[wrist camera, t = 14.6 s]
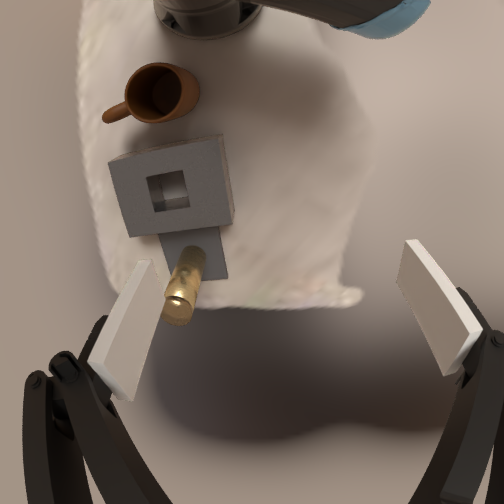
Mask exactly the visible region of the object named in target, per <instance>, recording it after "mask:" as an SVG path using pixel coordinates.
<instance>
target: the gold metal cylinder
mask: <svg viewBox="0 0 504 504" xmlns="http://www.w3.org/2000/svg"><path fill="white" fill-rule="evenodd" d="M205 262H206V254H205V252H204V251H203V249H201V248H200V247H198V246H194V245H190V246H187V247H185V248H184V249H183V250H182V252H181V254H180V256H179V259H178V261H177V264H176V266H175V269H174V271H173V273H172V276H171V278H170V281H169V283H168V286H167V289H166V291H165V294H164V296H165V299H166V300H165V303H164V306H163V309H162V312H161V314H160V316H161V317H162V319H163V320H164V321H166V322H167V323H169V324H171V325H175V326H182V325H186V324H188V323H189V322H190V321H191V318H192V314H193V310H194V306H195V302H196V298H197V294H198V290H199V286H200V282H201V278H202V274H203V270H204V266H205Z"/></svg>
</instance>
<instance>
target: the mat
mask: <svg viewBox="0 0 504 504" xmlns="http://www.w3.org/2000/svg"><path fill="white" fill-rule="evenodd" d="M158 235H159V239H160V242H161V245H162V249H163V252H164V255H165V258H166V261H167V264H168V268H169V271H170V274H171V276H172V273H173V271H174V269H175V266H176V264H177V261H178V259H179V256H180V254H181V252H182V250H183V249H184V248H185V247H187V246H190V245H194V246H198V247H200V248H201V249H203V251H204V252H205V254H206V262H205V266H204V270H203V274H202V278H201V281H206V280H217V279H228V273H227V268H226V263H225V258H224V253H223V248H222V243H221V238H220V233H219V228H218V226H213V227H205V228H197V229H189V230H181V231H174V232H166V233H159V234H158Z"/></svg>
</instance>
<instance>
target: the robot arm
mask: <svg viewBox="0 0 504 504" xmlns="http://www.w3.org/2000/svg"><path fill="white" fill-rule="evenodd" d="M153 1H154V9H155V12H156V14H157V16H158V18H159V19H160V21H161V22H162V23H163V24H164V25H165V26H166V27H167V28H169V29H170V30H171V31H173V32H174V33H176V34H178V35H180V36H183V37H186V38H190V39H197V40H210V39H217V38H221V37H225V36H228V35H231V34H233V33H235V32H237V31H239V30H241V29H242V28H244V27H245V26H247V25H248V24H249V23H250V22H251V21H252V20H253V19H254V18H255V17H256V16H257V14H258V13H259V11H260V9H261V7H262V6H267V7H271V8H275V9H280V10H284V11H288V12H291V13H295V14H299V15H302V16H306V17H309V18H312V19H315V20H319V21H322V22H324V23H328V24H329V25H330V26H331V27H333V28H335V29H338V30H344V31H349V32H352V33H355V34H357V35H360V36H363V37H365V38H369V39H386V38H390V37H393V36H396V35H398V34H400V33H401V32H403V31H405V30H406V29H407V28H409V27H410V26H411V25H413V24H414V23H415V22H416V21H417V20H418V19H419V18H420V17H421V16H422V15H423V14H424V12H425V11H426V10H427V8H428V7H429V5H430V3H431V2H430V0H153ZM396 283H397V284H398V286H399V288H400V290H401V292H402V293H403V295H404V297H405V299H406V301H407V303H408V304H409V306H410V308H411V310H412V312H413V314H414V316H415V317H416V320H417V321H418V323H419V325H420V327H421V329H422V331H423V333H424V335H425V337H426V339H427V341H428V343H429V345H430V348H431V350H432V352H433V354H434V356H435V358H436V361H437V363H438V365H439V367H440V370H441V371H442V374H443V376H446V375H449V374H452V373H455V372H457V370H458V369H459V367H460V366H461V365H462V364H463V366H464V368H465V370H464V371H463V373H462V374H461V375H460V377H459V378H458V379H457V381H456V383H455V384H458V382H459V381H460V383H459V387H458V390H457V393H456V397H455V400H454V403H453V406H452V409H451V412H450V415H449V418H448V421H447V423H446V426H445V429H444V431H443V434H442V436H441V439H440V441H439V444H438V446H437V448H436V451H435V453H434V455H433V457H432V460H431V462H430V464H429V466H428V468H427V470H426V472H425V474H424V476H423V478H422V480H421V482H420V484H419V485H418V487H417V489H416V491H415V493H414V495H413V496H412V498H411V500H410V502H409V503H408V504H473V500H474V498H475V495H476V493H477V491H478V488H479V486H480V483H481V481H482V478H483V475H484V472H485V470H486V467H487V464H488V461H489V458H490V455H491V451H492V448H493V445H494V450H493V459H492V466H491V474H490V480H489V486H488V491H487V495H486V500H485V504H504V334H503V333H502V332H500V331H498V330H492V329H491V327H490V326H489V325H488V323H487V321H486V320H485V318H484V317H483V315H482V314H481V312H480V311H479V309H477V306H476V305H475V304H474V303H473V301H472V299H471V298H470V297H469V295H468V294H467V293H466V292H465V291H464V290H462V289H461V288H460V287H458V288H455V287H454V286H453V284H452V283H451V281H450V280H449V279H448V278H447V276H446V275H445V273H444V272H443V271H442V270H441V268H439V266H438V264H437V263H436V262H435V261H434V259H433V258H432V257H431V256H430V255H429V253H428V252H427V251H426V250H425V248H424V247H423V246H422V245H421V244H420V242H419V241H418V240H417V239H416V240H405V244H404V249H403V254H402V259H401V263H400V268H399V272H398V276H397V280H396ZM165 300H166V299H165V296H164V293H163V291H162V288H161V285H160V282H159V279H158V276H157V273H156V271H155V268H154V265H153V262H152V259H148V260H139V261H138V262H137V264H136V266H135V268H134V270H133V271H132V273H131V275H130V277H129V278H128V280H127V282H126V284H125V286H124V288H123V289H122V291H121V293H120V295H119V297H118V299H117V301H116V303H115V305H114V306H113V309H112V311H111V312H110V314H109V315H103V316H102V317H101V318H100V319H99V320H98V321H97V322H96V323H95V325H94V327H93V329H92V331H91V332H92V333H90V335H89V337H88V340H87V341H86V343H85V345H84V347H83V349H82V352H81V353H80V356H79V358H78V360H77V359H76V358H75V356H74V355H73V354H72V353H71V352H69V351H62V352H59V353H57V354H56V355H55V356H54V357H53V358H52V359H51V361H50V363H49V371H50V372H51V373H52V375H53V377H48V376H47V375H46V374H45V373H44V372H43V371H40V370H37V371H35V372H32V373H31V374H30V375H29V376H28V378H27V379H26V382H25V389H24V401H23V425H22V426H23V428H22V429H23V430H22V431H23V432H22V434H23V435H22V436H23V438H22V441H23V464H24V476H25V485H26V492H27V500H28V504H93V501H92V497H91V493H90V489H89V485H88V480H87V476H86V471H85V466H84V460H83V456H84V459H85V461H86V464H87V465H88V468H89V470H90V472H91V475H92V477H93V479H94V481H95V483H96V485H97V487H98V489H99V491H100V493H101V495H102V497H103V499H104V501H105V503H106V504H173V503H172V502H171V501H170V499H169V498H168V497H167V495H166V494H165V492H164V491H163V490H162V488H161V487H160V485H159V484H158V482H157V481H156V479H155V478H154V476H153V475H152V473H151V471H150V470H149V468H148V467H147V465H146V464H145V462H144V461H143V459H142V457H141V455H140V454H139V452H138V450H137V449H136V447H135V445H134V443H133V441H132V440H131V438H130V436H129V434H128V432H127V430H126V428H125V426H124V425H123V423H122V421H121V419H120V417H119V415H118V413H117V411H116V408H115V406H114V404H113V402H112V401H111V400H110V397H111V394H112V393H113V394H114V395H115V396H116V398H117V399H119V400H126V401H133V400H134V396H135V393H136V389H137V385H138V382H139V379H140V376H141V372H142V369H143V366H144V363H145V359H146V357H147V353H148V350H149V347H150V344H151V341H152V338H153V335H154V332H155V329H156V326H157V323H158V320H159V317H160V314H161V312H162V309H163V306H164V303H165Z"/></svg>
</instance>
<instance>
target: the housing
mask: <svg viewBox="0 0 504 504" xmlns="http://www.w3.org/2000/svg"><path fill="white" fill-rule="evenodd" d="M108 166H109V170H110V174H111V177H112V181H113V185H114V188H115V192H116V195H117V199H118V202H119V206H120V209H121V212H122V216H123V219H124V222H125V225H126V228H127V231H128V234H129V237H137V236H144V235H152V234H159V233H166V232H174V231H181V230H189V229H197V228H205V227H213V226H222V225H230V224H233V217H234V211H235V210H234V204H233V198H232V191H231V185H230V179H229V172H228V166H227V160H226V153H225V147H224V140H223V134H219V135H213V136H207V137H201V138H195V139H190V140H185V141H179V142H174V143H170V144H165V145H160V146H156V147H151V148H147V149H143V150H139V151H135V152H131V153H127V154H123V155H121V156H119V157H117V158H115V159H113V160H111V161H110V162H108ZM179 170H183V174H184V179H185V184H186V188H187V193H188V197H182V198H175V199H169V200H164V196H163V192H162V188H161V184H160V179H159V175H158V174H162V173H168V172H173V171H179Z"/></svg>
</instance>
